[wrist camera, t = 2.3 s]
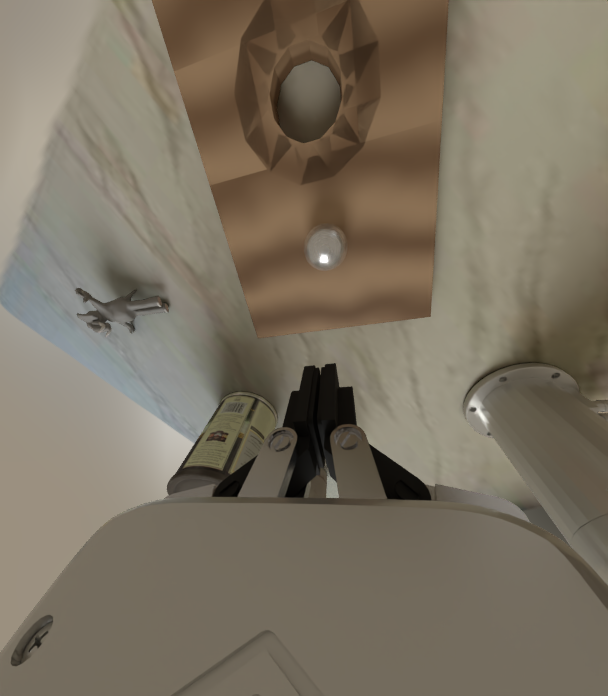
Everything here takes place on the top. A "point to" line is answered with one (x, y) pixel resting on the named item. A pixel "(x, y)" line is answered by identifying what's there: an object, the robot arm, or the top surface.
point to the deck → (319, 150)
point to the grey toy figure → (118, 311)
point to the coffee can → (226, 441)
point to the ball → (325, 246)
